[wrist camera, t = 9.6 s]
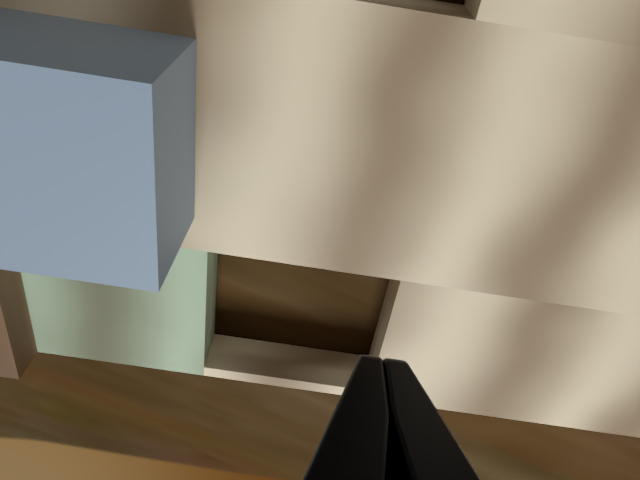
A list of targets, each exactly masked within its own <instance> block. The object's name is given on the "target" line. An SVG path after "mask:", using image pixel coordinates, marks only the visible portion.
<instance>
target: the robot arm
mask: <svg viewBox="0 0 640 480" xmlns="http://www.w3.org/2000/svg"><path fill="white" fill-rule="evenodd" d="M303 480H480V478H479V477H478V475H477V473H476V472H475V470H474V468H473V467H472V465H471V464H470V462H469V460H468V459H467V457H466V456H465V454H464V452H463V451H462V449H461V448H460V446H459V444H458V443H457V441H456V440H455V438H454V436H453V435H452V433H451V432H450V430H449V428H448V427H447V425H446V424H445V422H444V420H443V419H442V417H441V416H440V414H439V412H438V411H437V409H436V407H435V406H434V404H433V403H432V401H431V399H430V398H429V396H428V395H427V393H426V391H425V390H424V388H423V387H422V385H421V383H420V382H419V380H418V379H417V377H416V375H415V374H414V372H413V371H412V369H411V367H410V366H409V364H408V363H407V362H406V361H404V360H397V359H391V358H385V359H383V360H382V358H381V357H377V356H370V355H360V356H359V358H358V360H357V362H356V364H355V366H354V369H353V371H352V373H351V375H350V377H349V380H348V382H347V384H346V386H345V388H344V391H343V393H342V395H341V397H340V399H339V402H338V404H337V406H336V408H335V410H334V413H333V415H332V417H331V419H330V421H329V424H328V426H327V428H326V430H325V432H324V435H323V437H322V439H321V441H320V443H319V446H318V448H317V450H316V452H315V454H314V457H313V459H312V461H311V463H310V465H309V468H308V470H307V472H306V474H305V476H304V479H303Z"/></svg>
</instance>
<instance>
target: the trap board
mask: <svg viewBox="0 0 640 480" xmlns="http://www.w3.org/2000/svg"><path fill="white" fill-rule="evenodd" d="M0 7H3V8H9V9H16V10H22V11H28V12H34V13H40V14H47V15H53V16H59V17H65V18H72V19H78V20H84V21H90V22H97V23H103V24H109V25H115V26H122V27H128V28H134V29H140V30H147V31H153V32H159V33H165V34H172V35H178V36H184V37H190V38H197V44H196V124H195V204H194V220H193V222H192V224H191V226H190V228H189V230H188V232H187V234H186V236H185V239H184V241H183V243H182V245H181V247H180V249H179V251H178V253H177V255H176V257H175V260H174V262H173V264H172V266H171V268H170V270H169V272H168V274H167V276H166V278H165V280H164V283H163V285H162V287H161V289H160V291H159V292H153V291H146V290H139V289H132V288H125V287H118V286H112V285H105V284H98V283H91V282H84V281H77V280H70V279H64V278H57V277H50V276H43V275H36V274H29V273H23V272H16V271H9V270H2V269H0V377H6V378H13V379H20V377H21V376H22V374H23V373H24V371H25V370H26V368H27V367H28V365H29V364H30V362H31V361H32V359H33V358H34V356H35V355H36V353H37V352H43V353H50V354H57V355H64V356H71V357H78V358H85V359H92V360H99V361H106V362H113V363H120V364H127V365H134V366H141V367H148V368H155V369H162V370H169V371H176V372H183V373H190V374H197V375H204V376H211V377H218V378H225V379H232V380H239V381H246V382H253V383H260V384H267V385H274V386H281V387H288V388H295V389H302V390H309V391H316V392H323V393H330V394H337V395H342V393H343V391H344V388H345V386H346V384H347V382H348V380H349V377H350V375H351V373H352V371H353V369H354V366H355V364H356V362H357V360H358V358H359V356H360V355H357V354H350V353H343V352H336V351H330V350H323V349H316V348H309V347H302V346H295V345H288V344H281V343H274V342H267V341H260V340H254V339H247V338H240V337H233V336H226V335H219V334H214V333H215V310H216V287H217V264H218V253H219V254H226V255H233V256H239V257H246V258H253V259H259V260H266V261H273V262H280V263H286V264H293V265H300V266H306V267H313V268H320V269H326V270H333V271H340V272H347V273H353V274H360V275H367V276H373V277H380V278H387V279H389V282H388V286H387V290H386V293H385V297H384V301H383V304H382V308H381V312H380V315H379V319H378V323H377V327H376V330H375V334H374V338H373V341H372V345H371V349H370V352H369V355H370V356H377V357H381V358H382V360H383V359H385V358H391V359H397V360H404V361H406V362H407V363H408V364H409V366H410V367H411V369H412V371H413V372H414V374H415V375H416V377H417V379H418V380H419V382H420V383H421V385H422V387H423V388H424V390H425V391H426V393H427V395H428V396H429V398H430V399H431V401H432V403H433V404H434V406H435V407H436V409H443V410H450V411H457V412H464V413H471V414H478V415H485V416H492V417H499V418H506V419H513V420H520V421H527V422H534V423H541V424H548V425H555V426H562V427H569V428H576V429H583V430H590V431H597V432H604V433H611V434H618V435H625V436H632V437H639V438H640V0H465V2H464V5H461V4H455V3H449V2H443V1H436V0H0Z"/></svg>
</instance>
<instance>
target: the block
mask: <svg viewBox="0 0 640 480" xmlns="http://www.w3.org/2000/svg"><path fill="white" fill-rule="evenodd" d="M196 44H197V38H190V37H184V36H178V35H172V34H165V33H159V32H153V31H147V30H140V29H134V28H128V27H122V26H115V25H109V24H103V23H97V22H90V21H84V20H78V19H72V18H65V17H59V16H53V15H47V14H40V13H34V12H28V11H22V10H16V9H9V8H3V7H0V269H2V270H9V271H16V272H23V273H29V274H36V275H43V276H50V277H57V278H64V279H70V280H77V281H84V282H91V283H98V284H105V285H112V286H118V287H125V288H132V289H139V290H146V291H153V292H159V291H160V289H161V287H162V285H163V283H164V280H165V278H166V276H167V274H168V272H169V270H170V268H171V266H172V264H173V262H174V260H175V257H176V255H177V253H178V251H179V249H180V247H181V245H182V243H183V241H184V239H185V236H186V234H187V232H188V230H189V228H190V226H191V224H192V222H193V220H194V204H195V124H196Z"/></svg>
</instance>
